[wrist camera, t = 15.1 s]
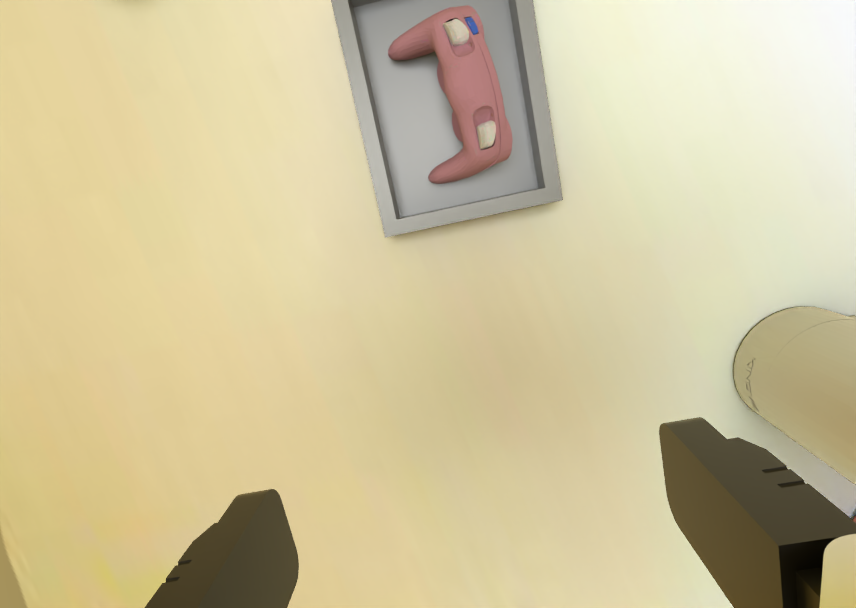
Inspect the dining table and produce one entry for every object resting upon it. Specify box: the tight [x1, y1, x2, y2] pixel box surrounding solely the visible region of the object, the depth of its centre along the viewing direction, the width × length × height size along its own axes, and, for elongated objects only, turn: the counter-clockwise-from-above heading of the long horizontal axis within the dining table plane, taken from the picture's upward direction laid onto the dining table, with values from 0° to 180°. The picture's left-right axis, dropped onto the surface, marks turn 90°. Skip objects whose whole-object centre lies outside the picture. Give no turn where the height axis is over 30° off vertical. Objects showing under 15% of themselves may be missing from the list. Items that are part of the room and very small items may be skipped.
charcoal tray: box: [331, 0, 563, 237], centre depth 33 cm, size 12×16×4 cm
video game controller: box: [388, 5, 513, 184], centre depth 32 cm, size 10×5×7 cm, turn 19°
